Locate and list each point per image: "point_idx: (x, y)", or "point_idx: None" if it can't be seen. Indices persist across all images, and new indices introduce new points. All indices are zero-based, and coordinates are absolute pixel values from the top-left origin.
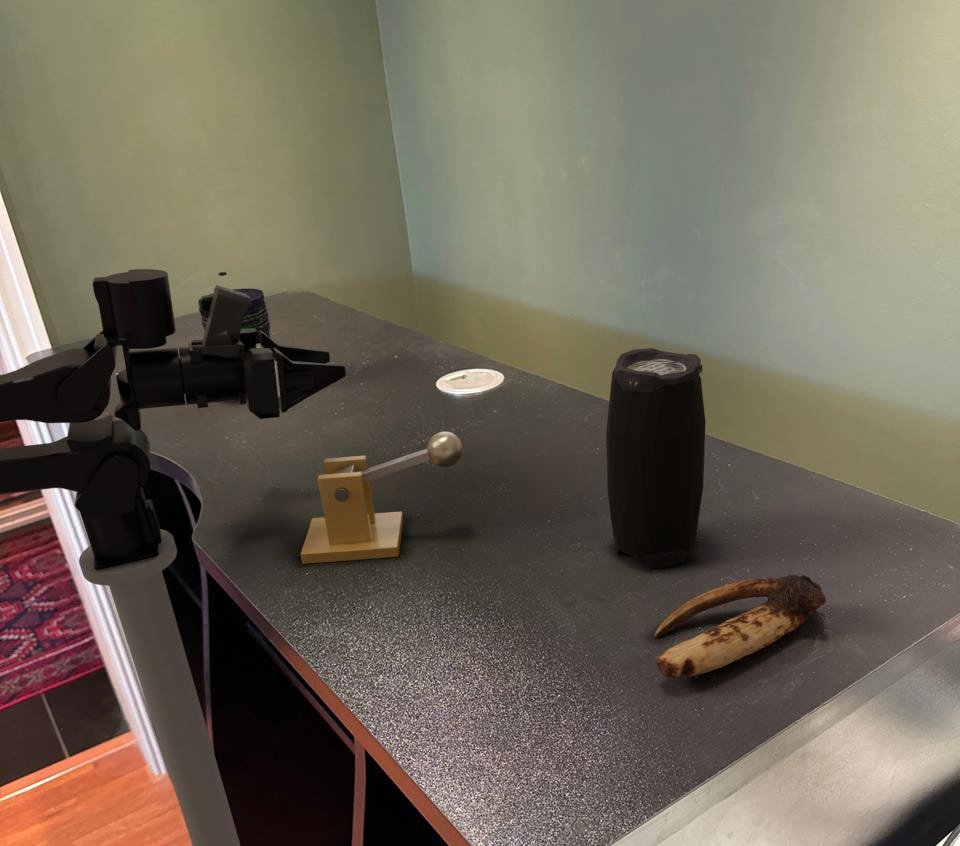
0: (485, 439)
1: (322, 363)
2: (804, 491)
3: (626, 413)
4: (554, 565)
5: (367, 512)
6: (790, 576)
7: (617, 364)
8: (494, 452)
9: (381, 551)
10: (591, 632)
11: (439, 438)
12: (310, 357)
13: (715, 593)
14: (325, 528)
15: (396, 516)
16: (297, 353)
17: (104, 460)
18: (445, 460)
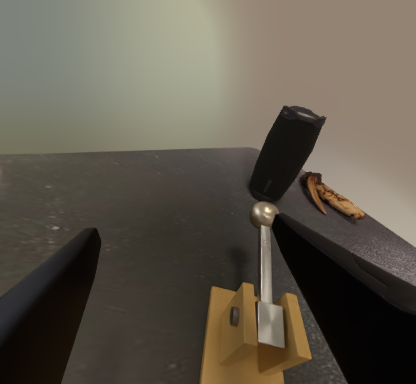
0: (97, 205)
1: (97, 258)
2: (227, 153)
3: (314, 140)
4: None
5: None
6: (314, 173)
7: (304, 116)
8: (125, 207)
9: None
10: (327, 230)
11: (275, 210)
12: (77, 275)
13: (315, 190)
14: (231, 381)
15: (220, 292)
16: (46, 309)
17: None
18: None
